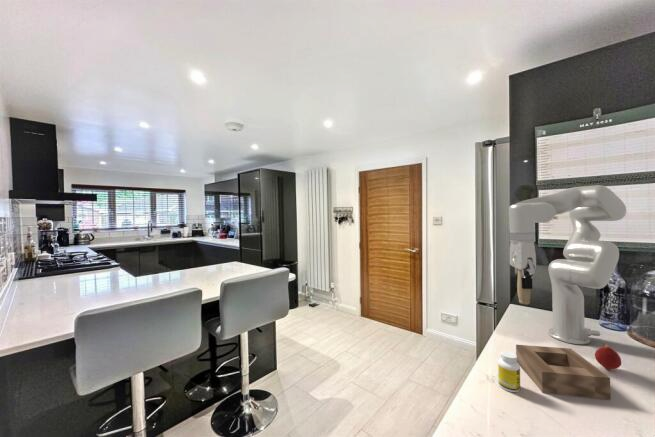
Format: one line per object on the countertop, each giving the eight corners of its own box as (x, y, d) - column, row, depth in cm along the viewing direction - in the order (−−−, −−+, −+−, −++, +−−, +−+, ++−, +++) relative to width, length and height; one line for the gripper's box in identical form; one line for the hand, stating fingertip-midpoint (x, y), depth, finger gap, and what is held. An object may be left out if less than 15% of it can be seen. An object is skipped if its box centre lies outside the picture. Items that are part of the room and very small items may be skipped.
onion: (613, 366, 87) (613, 342, 87) (626, 376, 81) (626, 350, 81) (591, 363, 89) (590, 339, 89) (602, 373, 83) (601, 348, 83)
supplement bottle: (521, 395, 75) (520, 361, 74) (498, 389, 77) (497, 356, 77) (519, 384, 79) (518, 352, 79) (498, 379, 82) (497, 348, 82)
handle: (531, 307, 93) (529, 265, 93) (511, 302, 99) (509, 262, 99) (537, 304, 96) (536, 263, 96) (517, 299, 101) (516, 260, 101)
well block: (571, 366, 87) (570, 348, 87) (610, 399, 72) (610, 377, 72) (516, 361, 91) (516, 344, 91) (542, 392, 75) (541, 371, 75)
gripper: (501, 235, 106) (503, 280, 106) (521, 240, 90) (523, 293, 90) (522, 235, 104) (524, 281, 105) (547, 239, 88) (549, 294, 88)
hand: (523, 286), depth 97 cm, fingers closed on handle, 3 cm apart
